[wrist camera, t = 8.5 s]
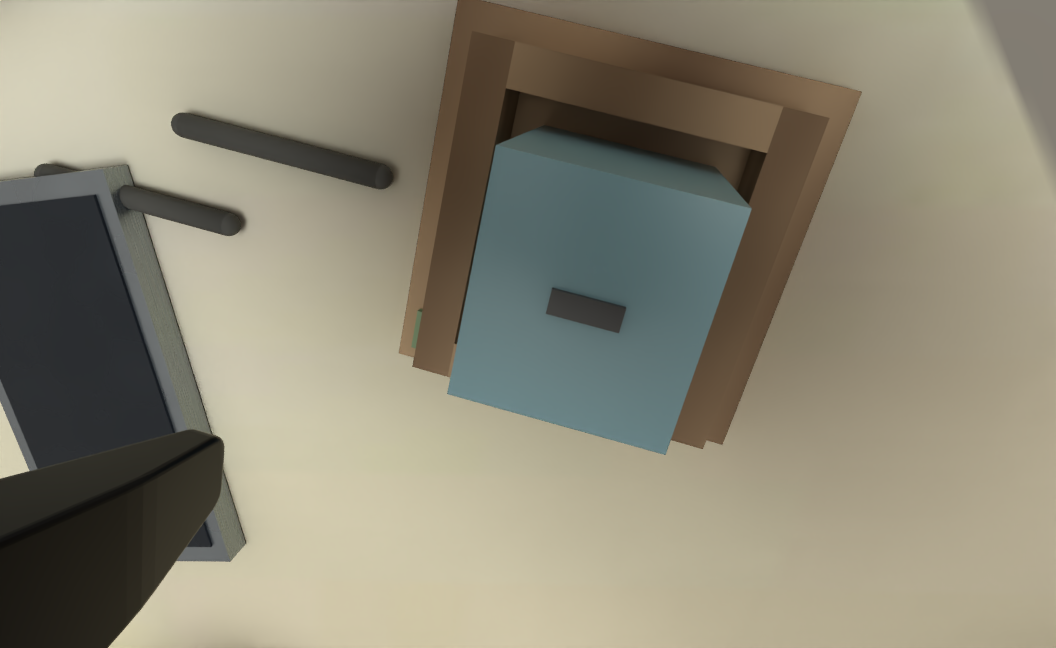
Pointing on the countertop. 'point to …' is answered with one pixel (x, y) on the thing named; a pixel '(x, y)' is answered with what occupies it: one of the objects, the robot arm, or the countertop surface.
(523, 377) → the blue drawer box
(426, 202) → the dock
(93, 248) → the phone
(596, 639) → the countertop surface
